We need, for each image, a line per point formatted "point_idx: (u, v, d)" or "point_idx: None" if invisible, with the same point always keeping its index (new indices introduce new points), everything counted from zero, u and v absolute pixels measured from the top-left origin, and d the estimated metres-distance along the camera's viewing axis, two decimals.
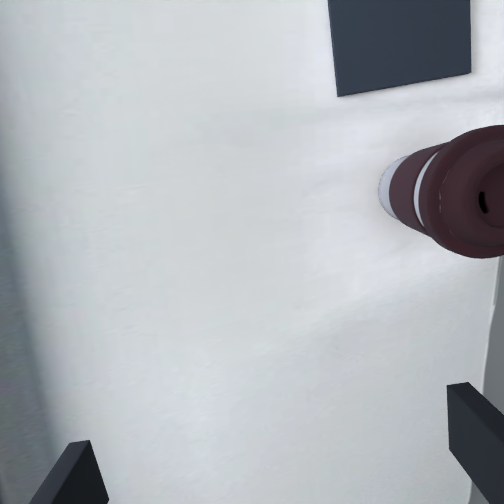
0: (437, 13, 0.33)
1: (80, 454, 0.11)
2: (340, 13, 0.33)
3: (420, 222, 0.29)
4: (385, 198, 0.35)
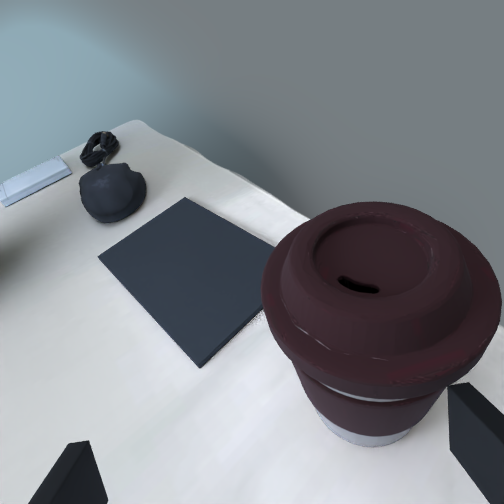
0: (241, 258, 0.35)
1: (79, 455, 0.11)
2: (161, 311, 0.33)
3: (359, 399, 0.14)
4: (335, 427, 0.20)
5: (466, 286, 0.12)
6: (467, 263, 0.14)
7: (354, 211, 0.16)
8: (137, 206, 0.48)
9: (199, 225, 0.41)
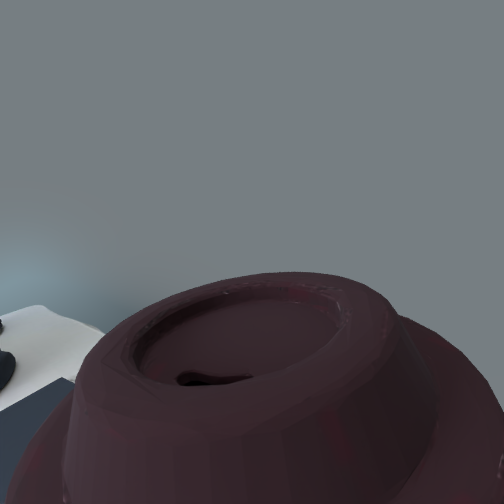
0: None
1: None
2: None
3: None
4: None
5: (413, 349, 0.06)
6: None
7: (221, 285, 0.10)
8: None
9: None
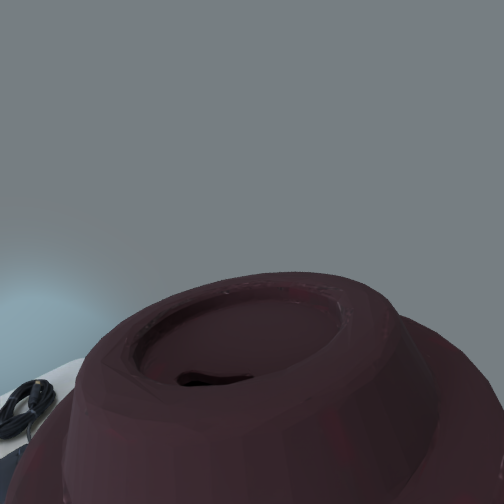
0: None
1: None
2: None
3: None
4: None
5: (414, 349, 0.06)
6: None
7: (221, 285, 0.10)
8: None
9: None
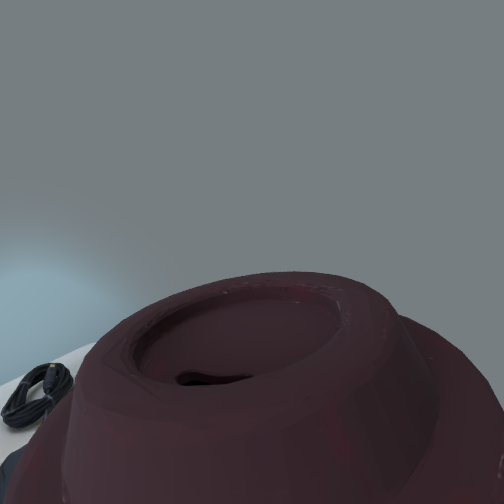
0: None
1: None
2: None
3: None
4: None
5: (413, 348, 0.06)
6: None
7: (221, 285, 0.10)
8: None
9: None
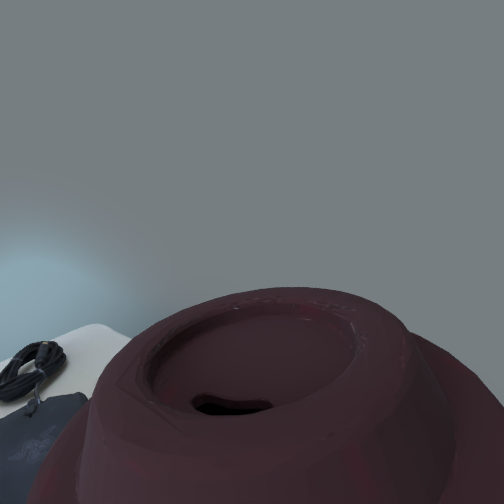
0: None
1: None
2: None
3: None
4: None
5: (430, 375, 0.06)
6: None
7: (231, 300, 0.10)
8: None
9: None
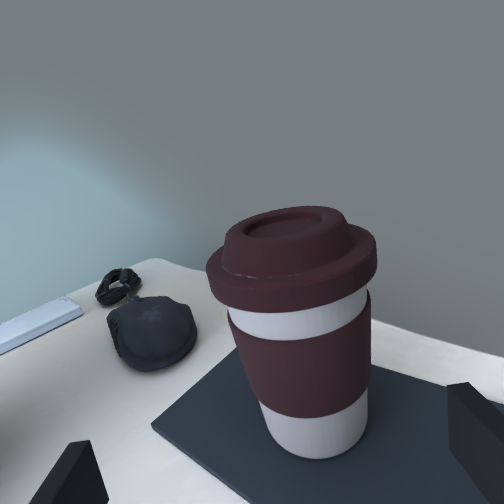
0: (399, 406, 0.23)
1: (80, 454, 0.11)
2: None
3: (291, 339, 0.17)
4: (288, 431, 0.20)
5: (347, 230, 0.18)
6: (353, 232, 0.20)
7: (273, 212, 0.21)
8: (191, 345, 0.36)
9: None
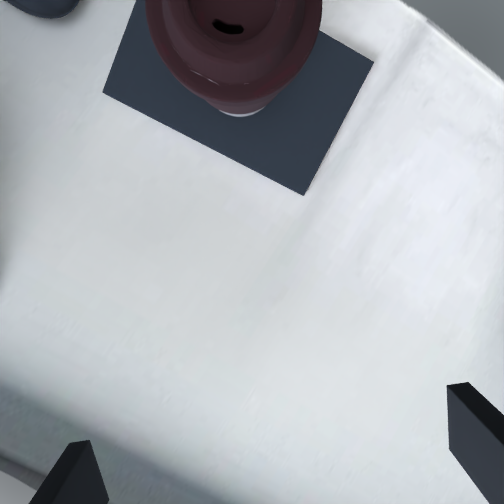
0: None
1: (80, 454, 0.11)
2: (241, 152, 0.33)
3: None
4: None
5: (299, 13, 0.18)
6: None
7: None
8: None
9: None
